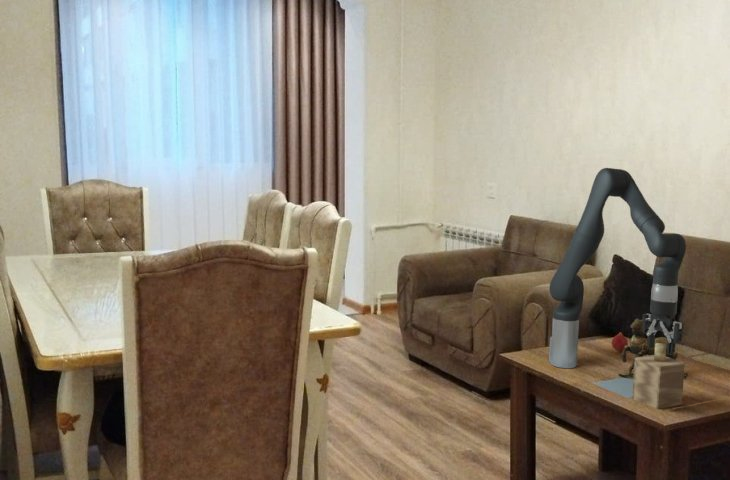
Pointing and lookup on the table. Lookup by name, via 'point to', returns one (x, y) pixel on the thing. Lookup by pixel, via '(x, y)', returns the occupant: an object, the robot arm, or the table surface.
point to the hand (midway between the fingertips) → (660, 350)
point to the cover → (658, 379)
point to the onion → (619, 342)
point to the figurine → (641, 347)
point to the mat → (618, 386)
